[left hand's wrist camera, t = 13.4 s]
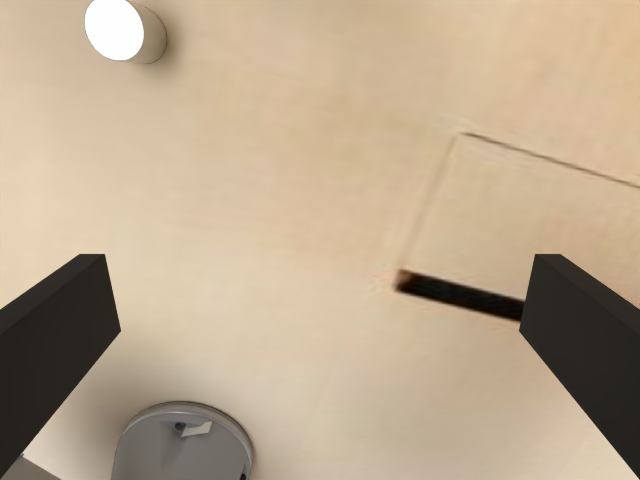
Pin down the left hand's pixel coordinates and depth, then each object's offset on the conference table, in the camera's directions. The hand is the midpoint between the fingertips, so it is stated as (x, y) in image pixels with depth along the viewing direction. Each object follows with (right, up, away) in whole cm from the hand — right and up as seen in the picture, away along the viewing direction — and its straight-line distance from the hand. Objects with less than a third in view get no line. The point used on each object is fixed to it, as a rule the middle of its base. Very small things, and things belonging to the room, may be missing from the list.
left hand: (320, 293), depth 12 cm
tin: (-14, +18, +19) cm, 29 cm away
